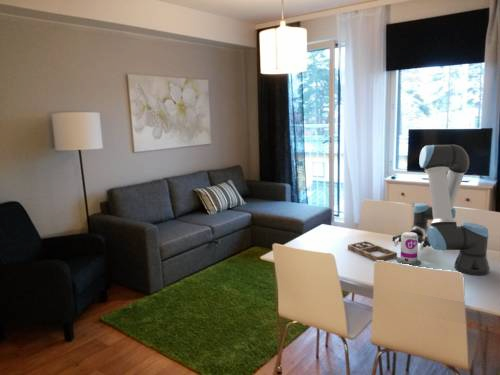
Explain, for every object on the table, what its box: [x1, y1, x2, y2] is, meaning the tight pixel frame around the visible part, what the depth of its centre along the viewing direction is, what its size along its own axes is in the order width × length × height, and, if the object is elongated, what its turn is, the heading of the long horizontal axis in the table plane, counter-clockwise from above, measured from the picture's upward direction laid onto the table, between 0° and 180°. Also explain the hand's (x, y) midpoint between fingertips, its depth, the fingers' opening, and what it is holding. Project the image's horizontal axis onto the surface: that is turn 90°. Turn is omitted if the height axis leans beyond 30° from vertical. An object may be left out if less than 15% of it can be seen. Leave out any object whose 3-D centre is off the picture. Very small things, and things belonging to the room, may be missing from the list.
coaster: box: [396, 256, 422, 267], centre depth 208 cm, size 12×12×1 cm
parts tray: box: [347, 240, 398, 262], centre depth 223 cm, size 24×14×3 cm, turn 26°
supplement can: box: [399, 231, 419, 263], centre depth 207 cm, size 8×8×15 cm
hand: (407, 245), depth 204 cm, fingers open, 12 cm apart
